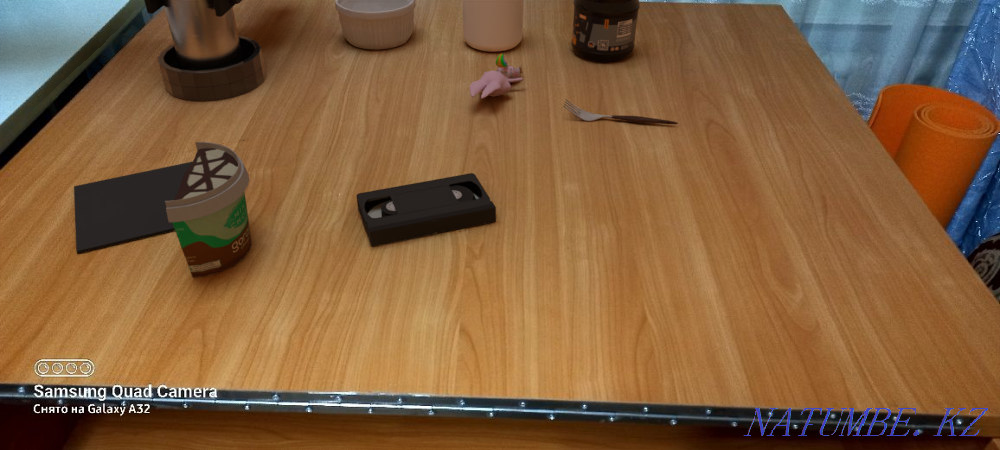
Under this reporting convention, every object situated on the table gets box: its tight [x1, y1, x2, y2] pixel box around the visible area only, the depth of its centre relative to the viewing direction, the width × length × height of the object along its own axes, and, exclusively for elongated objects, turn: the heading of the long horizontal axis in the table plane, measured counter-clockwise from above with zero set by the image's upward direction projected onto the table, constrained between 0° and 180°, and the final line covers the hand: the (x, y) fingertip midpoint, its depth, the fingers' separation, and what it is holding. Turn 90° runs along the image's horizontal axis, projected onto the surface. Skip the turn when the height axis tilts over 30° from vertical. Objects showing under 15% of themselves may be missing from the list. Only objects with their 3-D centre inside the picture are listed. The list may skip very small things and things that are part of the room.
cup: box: [462, 0, 524, 53], centre depth 124 cm, size 10×10×10 cm
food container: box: [165, 141, 253, 278], centre depth 77 cm, size 12×6×10 cm, turn 5°
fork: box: [563, 98, 679, 125], centre depth 103 cm, size 3×16×2 cm, turn 78°
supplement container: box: [570, 0, 641, 63], centre depth 120 cm, size 10×10×12 cm
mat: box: [73, 161, 193, 255], centre depth 86 cm, size 14×14×1 cm
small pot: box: [163, 0, 242, 70], centre depth 107 cm, size 10×10×12 cm
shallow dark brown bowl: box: [157, 34, 267, 103], centre depth 111 cm, size 14×14×5 cm
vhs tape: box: [356, 172, 497, 248], centre depth 84 cm, size 14×8×2 cm, turn 110°
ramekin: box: [334, 0, 417, 51], centre depth 126 cm, size 13×13×7 cm
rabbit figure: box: [469, 53, 524, 99], centre depth 109 cm, size 6×6×15 cm
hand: (182, 5), depth 101 cm, fingers closed on small pot, 9 cm apart
